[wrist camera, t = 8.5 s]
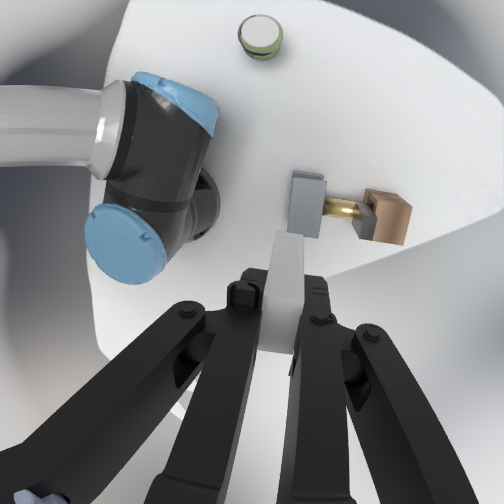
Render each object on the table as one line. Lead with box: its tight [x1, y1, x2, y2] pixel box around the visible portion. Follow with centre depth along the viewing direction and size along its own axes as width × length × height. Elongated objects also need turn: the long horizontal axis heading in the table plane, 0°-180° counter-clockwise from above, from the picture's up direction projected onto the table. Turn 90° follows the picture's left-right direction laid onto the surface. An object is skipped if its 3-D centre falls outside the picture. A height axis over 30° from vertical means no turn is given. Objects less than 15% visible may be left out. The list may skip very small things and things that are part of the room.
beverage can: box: [238, 15, 283, 60], centre depth 34 cm, size 6×7×12 cm
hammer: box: [322, 197, 378, 241], centre depth 42 cm, size 12×4×10 cm, turn 86°
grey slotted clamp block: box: [287, 171, 327, 238], centre depth 46 cm, size 5×9×7 cm, turn 176°
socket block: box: [364, 189, 412, 245], centre depth 44 cm, size 6×6×8 cm
